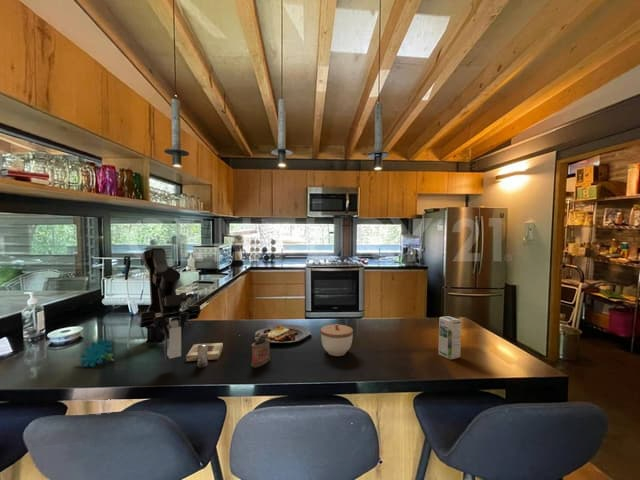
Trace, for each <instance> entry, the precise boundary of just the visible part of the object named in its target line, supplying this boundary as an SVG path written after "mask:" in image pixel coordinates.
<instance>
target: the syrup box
mask: <svg viewBox="0 0 640 480" xmlns="http://www.w3.org/2000/svg"><path fill="white" fill-rule="evenodd" d="M438 322H439V323H438V355H439V356H442V357H444V358H446V359H448V360H454V359H458V358H461V347H462V346H461V341H462V340H461V339H462V338H461V336H462V319H458V318H456V317H452V316H449V315H448V316H447V315H446V316H440V317H439V318H438Z"/></svg>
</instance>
